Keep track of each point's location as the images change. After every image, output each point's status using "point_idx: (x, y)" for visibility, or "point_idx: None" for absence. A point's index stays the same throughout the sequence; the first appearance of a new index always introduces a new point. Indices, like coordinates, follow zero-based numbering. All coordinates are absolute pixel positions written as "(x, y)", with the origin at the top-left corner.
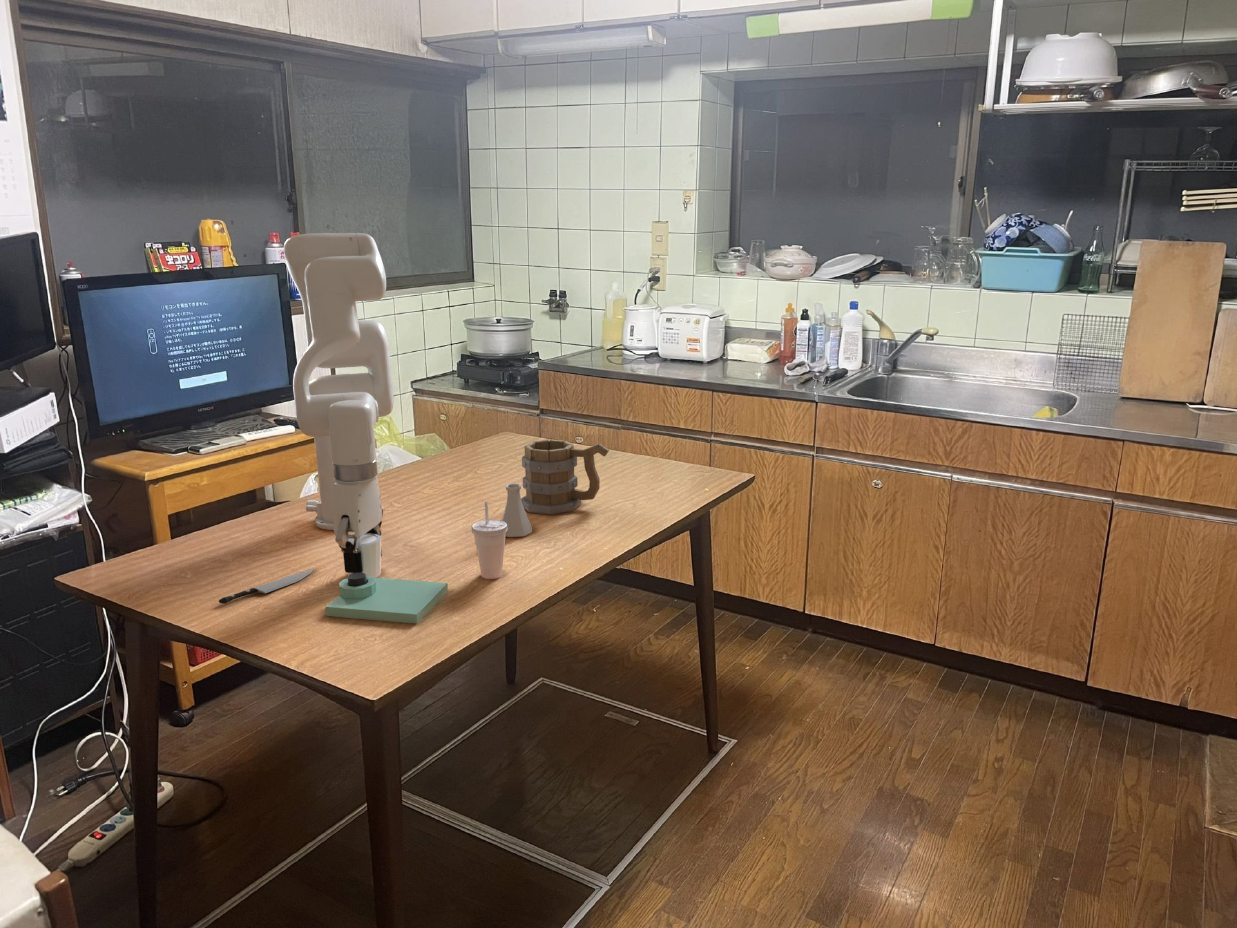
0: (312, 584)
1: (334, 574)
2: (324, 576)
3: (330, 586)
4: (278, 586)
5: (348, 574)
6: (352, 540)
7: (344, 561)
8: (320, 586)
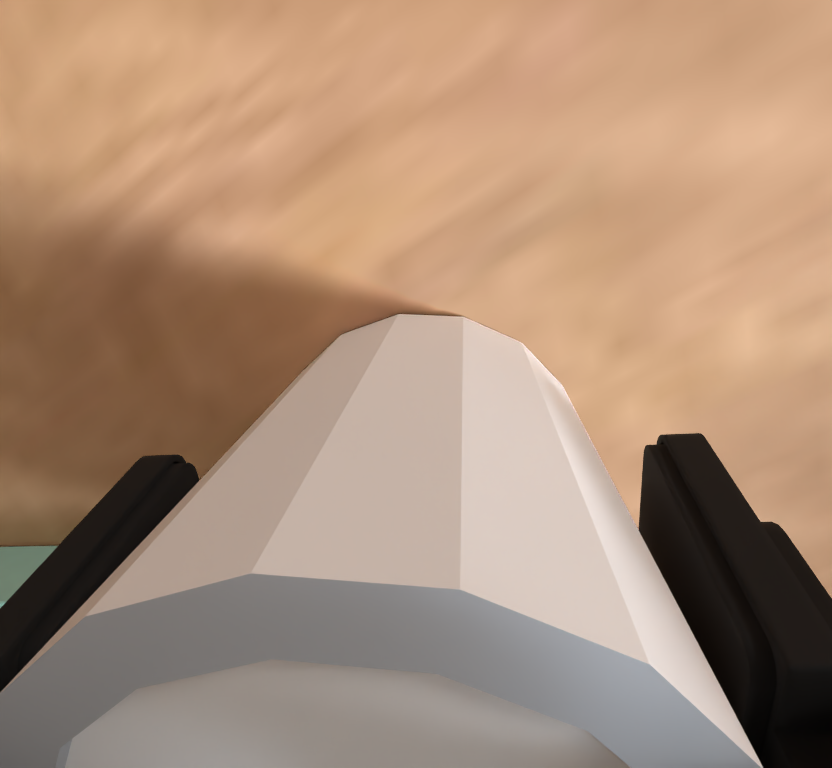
0: (8, 61)
1: (344, 136)
2: (249, 47)
3: (75, 293)
4: None
5: (331, 344)
6: (256, 765)
7: (75, 537)
8: (21, 192)
